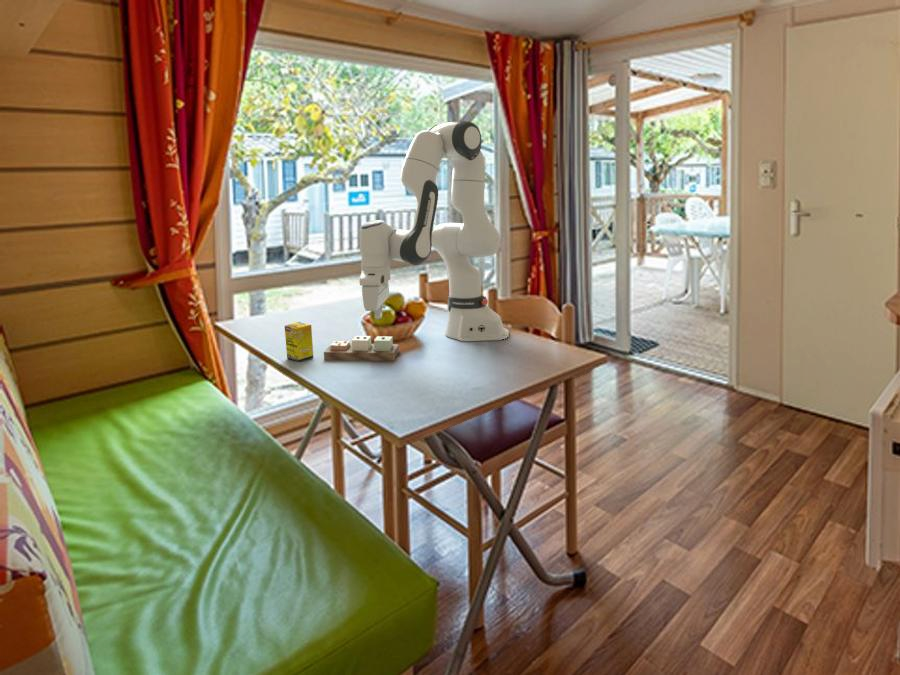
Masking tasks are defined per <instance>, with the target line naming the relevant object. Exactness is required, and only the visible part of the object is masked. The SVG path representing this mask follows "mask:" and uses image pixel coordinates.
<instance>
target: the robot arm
mask: <svg viewBox="0 0 900 675" xmlns="http://www.w3.org/2000/svg"><path fill="white" fill-rule="evenodd" d="M412 139H413V140H412V142H411V143H410V145H409V148H408V150H407V152H406V155H405V157H404V161H403V164H402V168H401V171H400V180H401V182H402V184H403V186H404V188H405V189H406V190H407V192H409V193H411V194H413V196H415V198H416V201H417V202H416V204H417V205H416V209H415V210H416V211H415V216H414V221H413V225H412V228H410V229H409V230H406V229H405V230H404V229H399V228H397V227H393V226H391V225H390V224H387V223H386V221H385V220H382V219H375V220H370V221H366V222H364V223H362V225H361V226H360V229H359V242H358V243H359V253H360V255H361V256H360V257H361V261H360V270H361V272H360V277H359V281H358V282H359V286H361V296H362V302H363V307H364V310H365V312H366V311H367V312H373V314H374V319H375V320H380V319H382V317H383V307H384V303H385V301H386V300H387V299H388V298H389V297H390V286H389V285H390V284H389V281H390V280H391V277H392V276H391V264H390V261H391V260H393V261H397V262H402V263H403V262H404V263H407V264H410V265H413V266H420V265H422V264H424V263H425V262H426V261H427V260H428V259H429V257H430V254H431V252H432V248H433V249H434V250H435V251H436V252H437V253H438V255H439V256H440V258H442V260H443V262H444V265H445V267H446V270H447V275H448V284H449V285H448V288H449V290H448V291H449V295H448V298H447V309H448V320H447V325H446V326H447V327H446V330H445V334H444V335H445V336H446V337H447V338H450V339H455V340H458V341H460V342H482V341H483V342H484V341H485V342H486V341H487V342H488V341H503V340H502V339H504V340H506V339H508V338H509V337H510V332H509V330H508V329H507V328H505V327H504V325H503V321H502V320H503V319H502V317H501V316H500V315H499V314H498V313H496V311H494V310H493V309H492V308H490V307H489V306H488V305H487V304H489V301H488V299H487V296H486V295H482V275H481V272H480V270H479V269H477V268H476V267H475V266H474V265H473V264H472V263H471V261H470V259H469V257H474V258H485V257H491V256H494V255H495V254H496V253H497V252H498V250H499V248H500V246H501V236H500V233H499V231H498V229H497V228H496V227H495V226H494V225H493V224H492V223H491V221H490V220H489V218H488V215H487V212H486V209H485V184H486V183H485V182H486V180H485V179H486V170H485V169H486V168H485V159H484V153H483V152H482V151H481V149H482V133H481V131H480V128H479V127H478V125H477V124H476V123H474V122H471V121H468V120H461V121H448V122H446V123H442V124H435V125H433V126H431V127H429V128H428V129H427V130H421V131H419V132H417V133H416V134H415V135H414V138H412ZM443 159H450V160H451V163H452V166H453V167H452V175H451V192H450V204H451V205H452V207H453V209H455V210H456V211H457V212H459V213H460V215H461V217H462V223H461V222H445V223H440V224H437V225H436V226H434V224H435V217H436V212H437V206H438V201H439V188H438V186H437V177H438V172H439V170H440V166H441V163H442V160H443ZM507 337H508V338H507ZM505 338H506V339H505Z"/></svg>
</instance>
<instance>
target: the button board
mask: <svg viewBox="0 0 900 675" xmlns="http://www.w3.org/2000/svg"><path fill="white" fill-rule="evenodd" d="M399 353H400V344H399V343H398V344H397V343H393V349H392V350H391V351H374V343H371V349H370V350H369V351H352V342H350V347H349V349H348V350H331V348H330V345H329V346H328V347H327V348H326V349H324V351H323V360H324V361H369V362H371V361H372V362H376V361H377V362H394V361H395V360H396V357H397V356H398V355H399Z"/></svg>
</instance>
